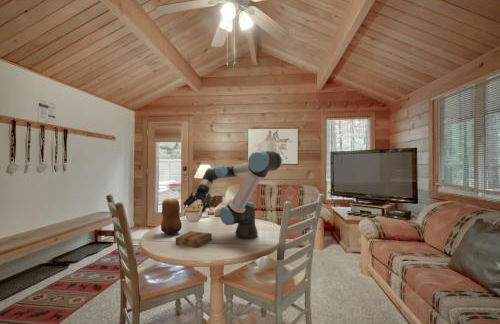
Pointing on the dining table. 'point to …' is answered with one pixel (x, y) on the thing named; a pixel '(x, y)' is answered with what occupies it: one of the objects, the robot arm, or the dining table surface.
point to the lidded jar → (192, 214)
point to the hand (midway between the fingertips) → (191, 215)
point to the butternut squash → (171, 216)
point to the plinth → (193, 239)
